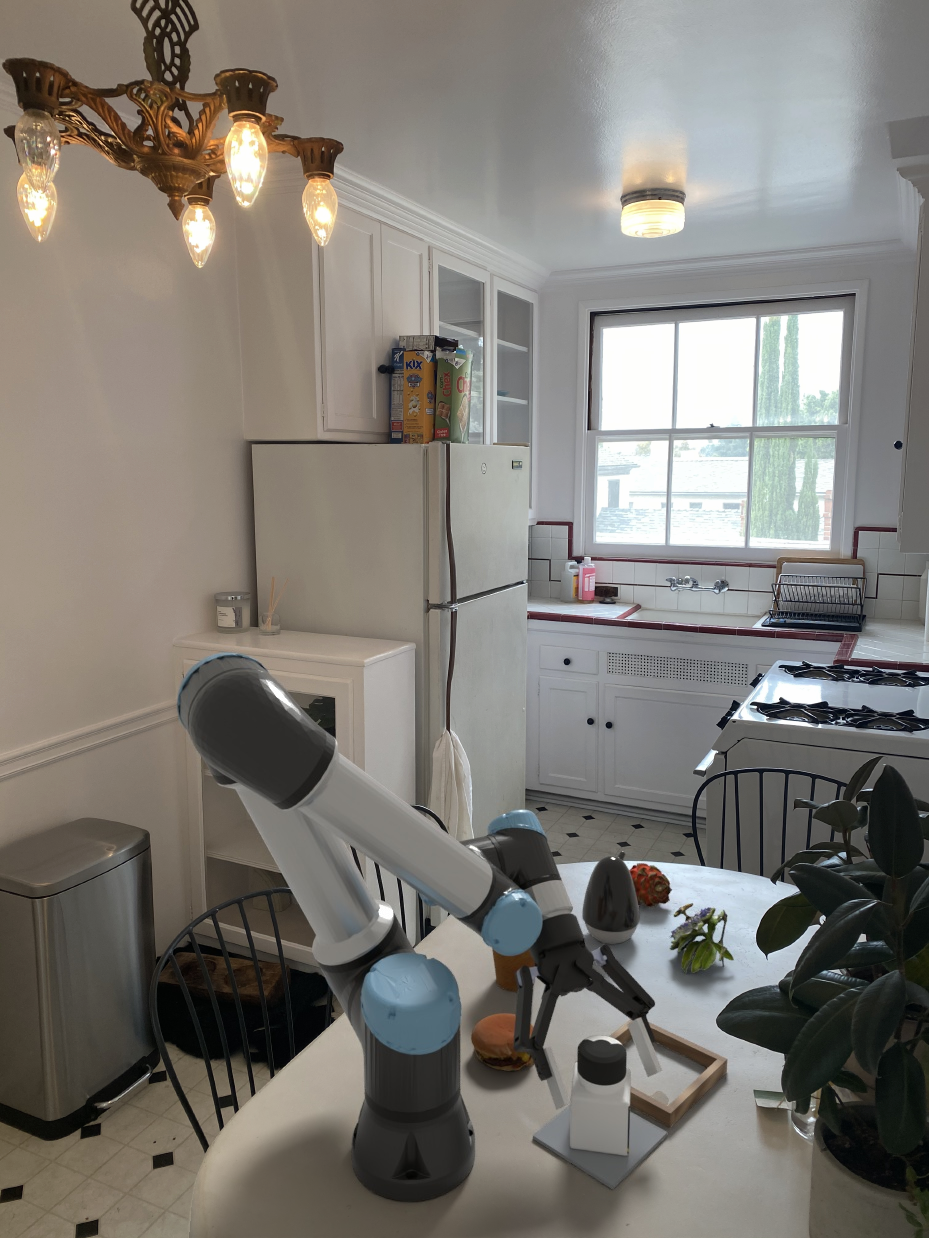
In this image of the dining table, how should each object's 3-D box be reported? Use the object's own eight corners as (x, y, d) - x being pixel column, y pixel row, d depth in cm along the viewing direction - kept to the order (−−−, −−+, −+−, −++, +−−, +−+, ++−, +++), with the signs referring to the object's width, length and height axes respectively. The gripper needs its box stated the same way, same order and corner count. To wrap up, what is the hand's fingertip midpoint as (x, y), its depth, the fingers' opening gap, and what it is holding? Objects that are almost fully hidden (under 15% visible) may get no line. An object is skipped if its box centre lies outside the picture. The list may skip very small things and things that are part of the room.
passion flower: (681, 979, 159) (686, 909, 164) (743, 987, 153) (746, 914, 158) (656, 968, 151) (662, 895, 156) (720, 975, 145) (724, 899, 150)
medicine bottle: (628, 1157, 109) (630, 1067, 108) (569, 1149, 111) (570, 1060, 109) (629, 1117, 116) (631, 1031, 115) (574, 1110, 118) (575, 1025, 116)
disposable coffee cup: (515, 1004, 142) (515, 933, 141) (474, 979, 149) (474, 911, 148) (556, 982, 149) (557, 913, 147) (515, 959, 156) (515, 894, 154)
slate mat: (612, 1189, 105) (612, 1185, 105) (532, 1138, 113) (532, 1135, 113) (667, 1135, 114) (667, 1132, 114) (589, 1091, 122) (589, 1088, 122)
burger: (482, 1029, 136) (481, 1001, 136) (542, 1039, 134) (543, 1010, 133) (464, 1070, 127) (463, 1040, 126) (529, 1082, 124) (529, 1051, 124)
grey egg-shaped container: (648, 931, 165) (650, 852, 163) (626, 956, 156) (627, 873, 154) (596, 917, 170) (597, 840, 168) (572, 941, 162) (573, 860, 160)
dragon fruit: (672, 922, 171) (617, 912, 180) (686, 884, 176) (633, 876, 184) (654, 896, 167) (600, 887, 175) (670, 858, 172) (616, 851, 180)
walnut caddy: (670, 1127, 115) (670, 1113, 115) (575, 1075, 125) (575, 1061, 125) (726, 1071, 126) (727, 1058, 126) (635, 1027, 136) (635, 1015, 136)
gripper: (613, 912, 130) (676, 1067, 119) (456, 952, 120) (510, 1126, 109) (636, 893, 125) (705, 1054, 114) (474, 932, 114) (533, 1114, 103)
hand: (610, 1090), depth 111 cm, fingers open, 13 cm apart
